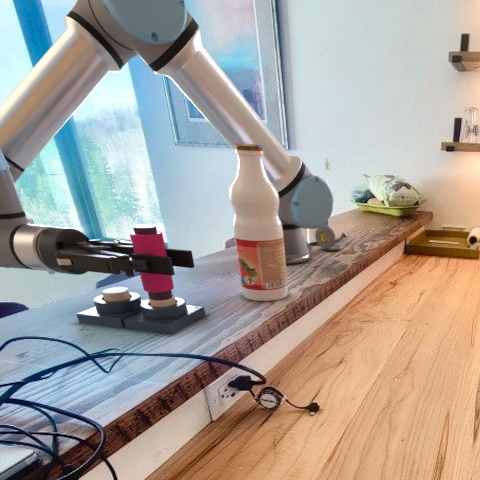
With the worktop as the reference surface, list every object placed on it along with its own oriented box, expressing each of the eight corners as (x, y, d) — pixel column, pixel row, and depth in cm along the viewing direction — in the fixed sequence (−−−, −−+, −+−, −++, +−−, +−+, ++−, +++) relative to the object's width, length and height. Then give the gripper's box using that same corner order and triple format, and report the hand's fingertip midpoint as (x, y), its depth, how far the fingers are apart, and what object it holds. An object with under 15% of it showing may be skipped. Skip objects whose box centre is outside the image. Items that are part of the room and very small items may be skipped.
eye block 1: (122, 305, 82) (117, 287, 80) (162, 310, 80) (157, 292, 79) (79, 323, 73) (72, 303, 71) (123, 328, 72) (117, 308, 70)
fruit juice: (287, 302, 88) (273, 145, 74) (240, 302, 86) (216, 142, 72) (289, 289, 96) (277, 145, 82) (246, 289, 94) (225, 142, 80)
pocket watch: (340, 247, 139) (339, 214, 134) (343, 252, 132) (342, 218, 127) (314, 247, 137) (313, 213, 132) (316, 252, 130) (315, 217, 125)
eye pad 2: (161, 302, 76) (159, 292, 75) (181, 304, 76) (179, 295, 75) (145, 309, 73) (143, 299, 72) (166, 311, 72) (164, 301, 71)
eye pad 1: (116, 295, 77) (113, 285, 76) (135, 297, 77) (133, 288, 76) (98, 301, 74) (95, 292, 73) (119, 304, 73) (116, 294, 72)
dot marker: (158, 292, 75) (141, 222, 70) (181, 294, 75) (166, 225, 69) (139, 299, 72) (120, 226, 66) (164, 302, 71) (147, 229, 65)
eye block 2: (164, 310, 80) (160, 292, 79) (205, 315, 79) (202, 297, 77) (125, 329, 72) (119, 309, 70) (171, 334, 71) (166, 314, 69)
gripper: (104, 261, 82) (215, 273, 79) (17, 285, 67) (150, 300, 64) (92, 219, 78) (208, 230, 75) (-4, 235, 63) (137, 248, 60)
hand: (181, 262), depth 69 cm, fingers closed on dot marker, 5 cm apart
